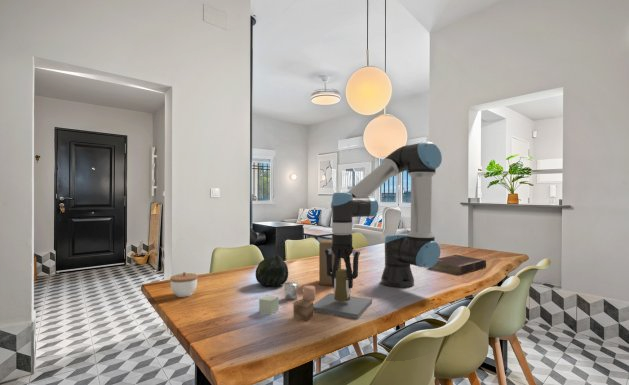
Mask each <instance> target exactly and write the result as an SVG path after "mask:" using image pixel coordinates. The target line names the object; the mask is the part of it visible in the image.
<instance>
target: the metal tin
mask: <svg viewBox="0 0 629 385" xmlns="http://www.w3.org/2000/svg"><path fill="white" fill-rule="evenodd" d="M284 300H286V301H288V302H293V301H296V300H298V282H294V281H293V282H292V281H291V282H290V281H288V282H285V283H284Z"/></svg>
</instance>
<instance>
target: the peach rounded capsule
mask: <svg viewBox="0 0 629 385" xmlns="http://www.w3.org/2000/svg"><path fill="white" fill-rule="evenodd" d="M314 300H315V301H316V286H314V285H304V286H302V301H308V302H315V301H314Z"/></svg>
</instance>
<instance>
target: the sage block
mask: <svg viewBox="0 0 629 385" xmlns="http://www.w3.org/2000/svg"><path fill="white" fill-rule="evenodd" d="M258 300H259V301H258V312H259V314H265V315H270V316H271V315H273V314H275V313H277V312H279V308H280V307H279V303H280V301H279V296H275V295H271V294H269V295H268V294H267V295H264V296H262V297H260V298H259V299H258Z"/></svg>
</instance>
